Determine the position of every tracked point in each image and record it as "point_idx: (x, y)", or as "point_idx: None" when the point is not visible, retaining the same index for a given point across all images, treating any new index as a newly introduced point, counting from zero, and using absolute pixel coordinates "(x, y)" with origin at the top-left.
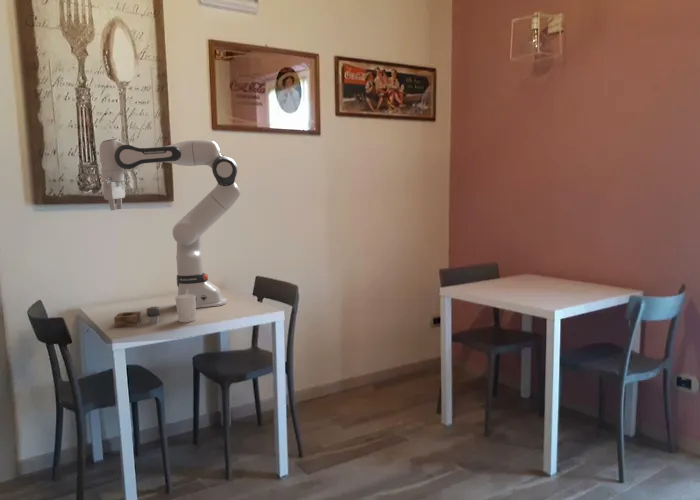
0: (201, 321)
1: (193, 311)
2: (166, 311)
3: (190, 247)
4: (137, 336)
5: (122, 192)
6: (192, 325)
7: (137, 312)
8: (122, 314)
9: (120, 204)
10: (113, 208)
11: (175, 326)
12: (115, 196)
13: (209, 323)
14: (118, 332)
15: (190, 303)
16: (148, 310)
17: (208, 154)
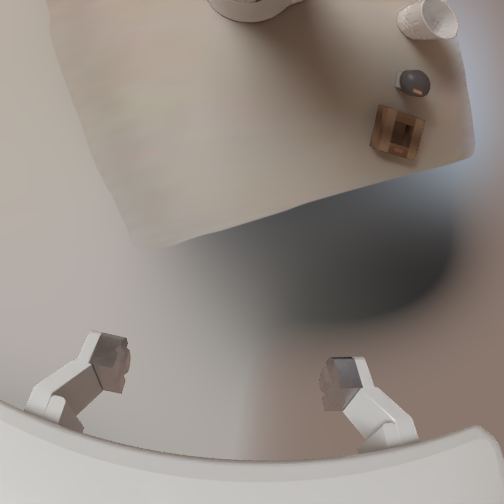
0: None
1: (432, 13)
2: (306, 45)
3: None
4: (472, 124)
5: (2, 478)
6: None
7: (395, 113)
8: (396, 144)
9: (89, 370)
10: (362, 373)
11: (444, 55)
12: (426, 467)
13: None
14: (438, 150)
15: (447, 17)
16: (425, 94)
17: None
